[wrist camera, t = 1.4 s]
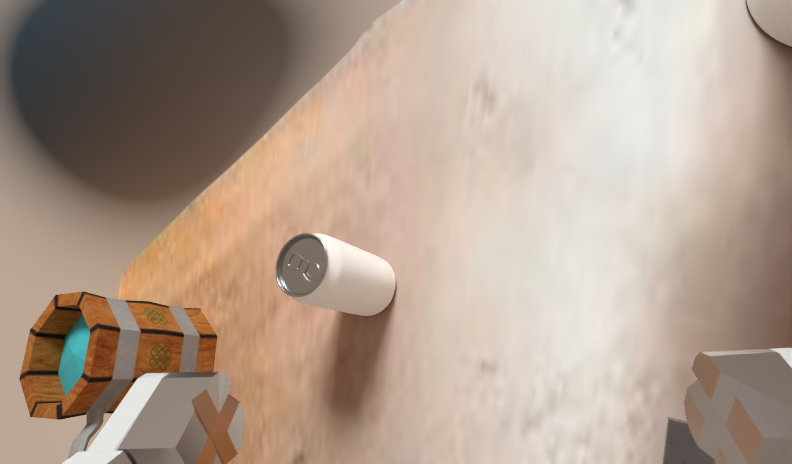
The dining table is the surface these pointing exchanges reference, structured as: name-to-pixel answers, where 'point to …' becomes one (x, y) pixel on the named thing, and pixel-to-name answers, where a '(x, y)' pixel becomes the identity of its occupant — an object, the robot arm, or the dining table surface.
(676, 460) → the grey stone blocks
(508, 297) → the dining table surface
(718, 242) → the dining table surface
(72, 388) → the mug
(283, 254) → the can
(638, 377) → the dining table surface
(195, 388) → the robot arm
